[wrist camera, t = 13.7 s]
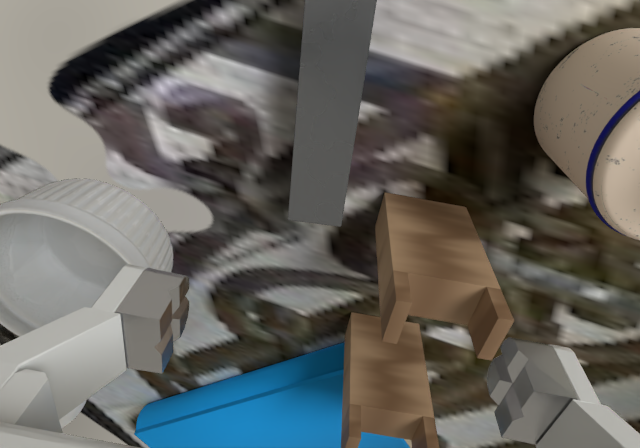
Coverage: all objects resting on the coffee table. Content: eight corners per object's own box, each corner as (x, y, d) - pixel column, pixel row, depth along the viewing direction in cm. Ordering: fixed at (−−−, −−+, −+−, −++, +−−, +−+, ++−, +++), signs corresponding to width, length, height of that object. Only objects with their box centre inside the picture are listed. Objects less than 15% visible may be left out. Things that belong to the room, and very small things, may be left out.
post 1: (419, 323, 38) (439, 451, 28) (409, 347, 39) (426, 475, 30) (351, 312, 37) (349, 436, 28) (344, 335, 39) (340, 461, 29)
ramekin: (-9, 176, 33) (-89, 225, 27) (147, 147, 31) (97, 194, 25) (76, 304, 40) (27, 365, 34) (209, 289, 37) (182, 351, 32)
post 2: (466, 207, 31) (514, 320, 22) (452, 240, 33) (491, 360, 23) (384, 192, 31) (396, 300, 21) (375, 226, 33) (382, 341, 23)
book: (425, 469, 43) (225, 514, 51) (419, 429, 47) (234, 476, 55) (348, 365, 36) (127, 435, 44) (348, 327, 40) (145, 398, 47)
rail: (381, -55, 23) (385, -56, 20) (342, 200, 32) (340, 226, 29) (316, -63, 23) (310, -65, 20) (294, 194, 32) (288, 219, 29)
